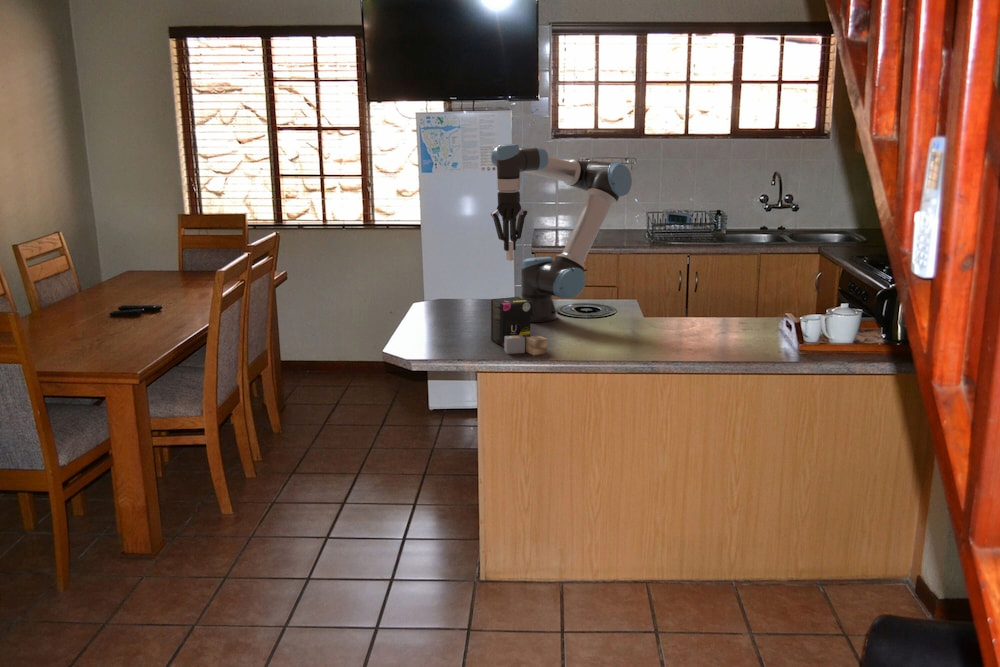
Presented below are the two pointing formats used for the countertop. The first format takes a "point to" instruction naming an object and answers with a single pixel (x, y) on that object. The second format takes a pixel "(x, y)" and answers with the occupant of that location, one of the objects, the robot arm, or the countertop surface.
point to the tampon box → (510, 318)
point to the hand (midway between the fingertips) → (510, 259)
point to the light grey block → (514, 344)
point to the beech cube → (536, 345)
